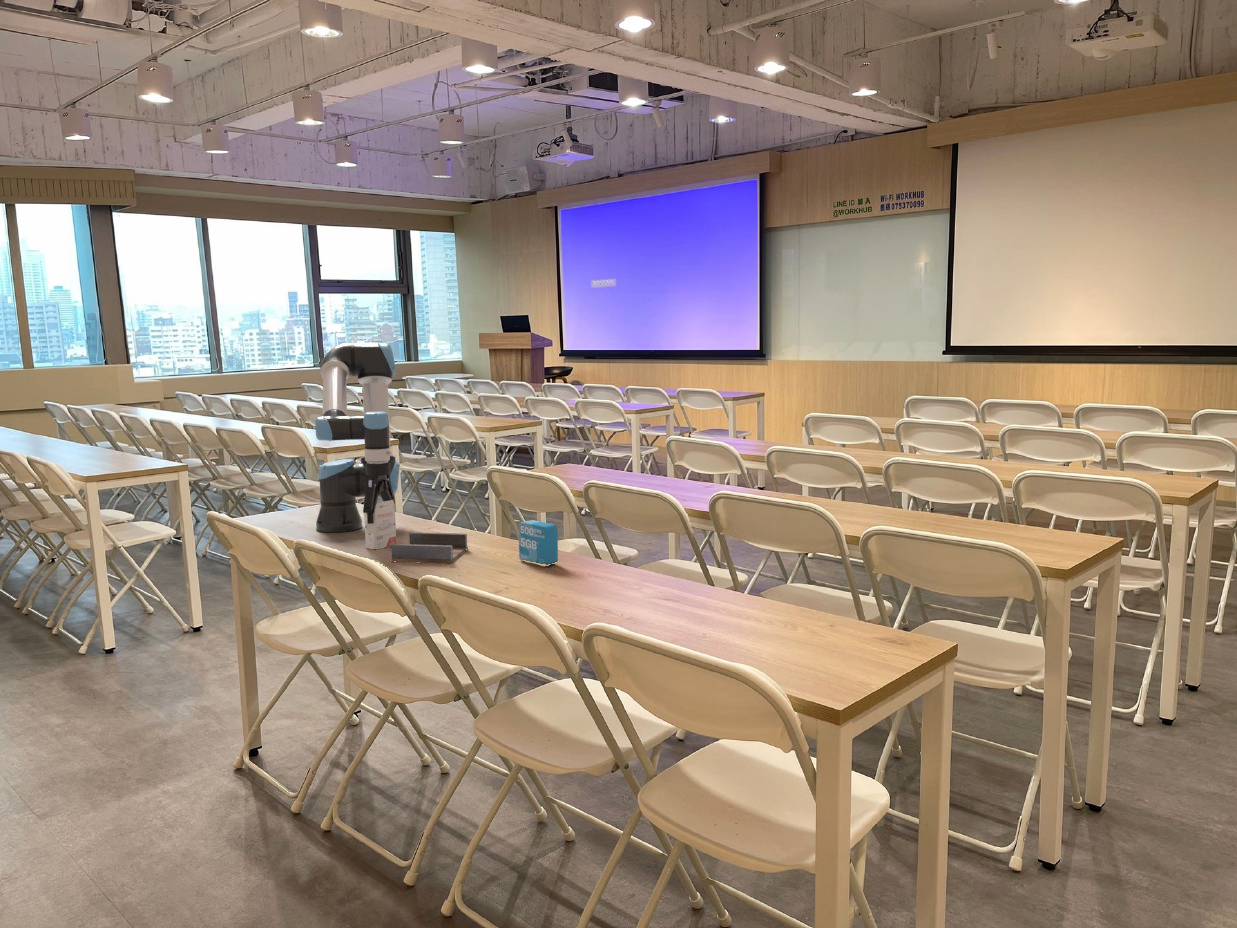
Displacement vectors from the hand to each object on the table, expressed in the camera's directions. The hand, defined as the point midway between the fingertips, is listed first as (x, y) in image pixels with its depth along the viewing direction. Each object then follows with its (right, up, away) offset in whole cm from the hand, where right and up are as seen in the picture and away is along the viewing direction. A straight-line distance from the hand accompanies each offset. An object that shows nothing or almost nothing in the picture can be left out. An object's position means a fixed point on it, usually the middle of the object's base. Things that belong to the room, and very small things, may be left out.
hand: (380, 528), depth 280 cm
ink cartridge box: (0, -6, +1) cm, 6 cm away
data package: (+51, -9, -19) cm, 55 cm away
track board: (+18, -7, -10) cm, 22 cm away
